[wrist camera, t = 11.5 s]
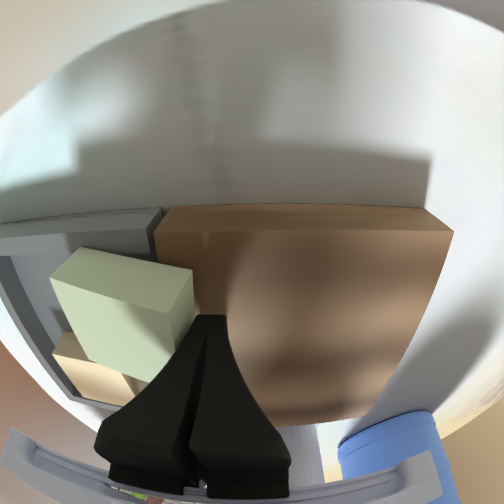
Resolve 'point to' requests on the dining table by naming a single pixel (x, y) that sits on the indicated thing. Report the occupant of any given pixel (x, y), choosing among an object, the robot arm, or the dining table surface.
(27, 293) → the tray
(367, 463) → the water jug
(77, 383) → the ash block
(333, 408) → the walnut board
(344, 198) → the dining table surface
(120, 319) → the sage tile
